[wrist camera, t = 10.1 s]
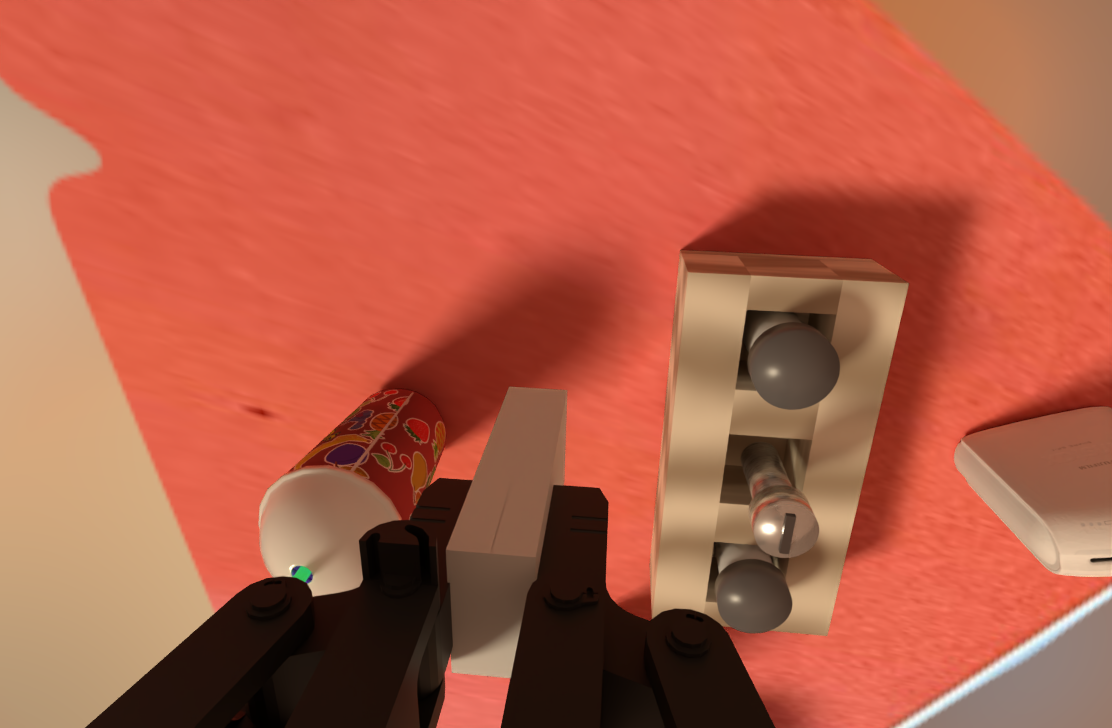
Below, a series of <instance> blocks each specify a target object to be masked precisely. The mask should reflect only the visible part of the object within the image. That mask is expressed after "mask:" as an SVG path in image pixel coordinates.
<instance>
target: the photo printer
mask: <svg viewBox="0 0 1112 728" xmlns="http://www.w3.org/2000/svg"><path fill="white" fill-rule="evenodd" d="M954 462H955V466H956V468H957V469H958V471H959V472H960V473H961V474H962V475H963V476H964V477H965V478H966V481H967V483H968V484H969V485H970V486H971V488H972V489H973V490H974V491H975V492H976V493H977V494H978V495H979V496H980V497H981V498H982V500H984V502H985V503H986V504H987V505H988V506H989V507H990V508H991V509H992V510H993V511H994V512H995V514H996V515H997V516H998V517H999V518H1000V519H1001V520H1002V521H1003V522H1004V523H1005V524H1006V525H1007V526H1008V528H1009V529H1010V530H1011V531H1012V532H1013V533H1014V534H1015V535H1016V536H1017V537H1018V538H1019V540H1020V541H1021V542H1022V543H1023V544H1024V545H1025V546H1026V547H1027V548H1028V549H1029V551H1030V552H1031V553H1032V554H1033V555H1034V556H1035V557H1036V558H1037V559H1038V560H1039V561H1040V562H1041V563H1042V565H1043V566H1044V567H1046V568H1047V569H1048V570H1049V571H1051V572H1053V573H1055V574H1060V575H1068V576H1081V577H1105V576H1112V408H1110V407H1105V406H1100V407H1088V408H1082V409H1077V410H1071V411H1066V412H1061V413H1056V414H1051V415H1047V416H1042V417H1038V418H1033V419H1029V420H1024V421H1020V422H1016V423H1011V424H1008V425H1003V426H999V427H995V428H991V429H987V430H983V431H980V432H976V433H973V434H970V435H967V436H965V437H963V438H962V439H961V442H960V443H958V445H957V447H956V449H955V453H954Z"/></svg>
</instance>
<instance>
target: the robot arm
mask: <svg viewBox="0 0 1112 728" xmlns="http://www.w3.org/2000/svg"><path fill="white" fill-rule="evenodd" d="M566 414H567V390H556V389H540V388H524V387H509V388H508V391H507V394H506V396H505V399H504V401H503V404H502V406H501V409H500V412H499V414H498V417H497V419H496V422H495V424H494V427H493V430H492V432H491V435H490V437H489V440H488V442H487V445H486V448H485V450H484V453H483V455H482V458H481V460H480V463H479V466H478V468H477V471H476V473H475V476H474V479H473V480H460V479H446V478H439V479H437V480H436V481H435V482H434V483H432V484H431V485H430V486H428V487H427V488H426V489H425V490H423V492H422V494H421V496H420V498H419V500H418V502H417V504H416V508H414V510H413V512H412V514H411V516H410V520H394V521H390V522H386V523H383V524H379V525H377V526H376V527H374V528H372V529H370V530H368V531H367V532H366V533H365V534H364V535H363V536H362V537H361V538H360V539H359V548H360V557H361V566H362V575H363V581H362V582H361V584H360V586H359V587H357V588H355V589H352V590H348V591H344V592H340V593H333V594H326V595H320V596H313V595H312V591H311V589H310V588H309V586H308V584H307V583H306V582H304V581H302V580H300V579H298V578H295V577H286V576H279V577H273V578H266V579H264V580H261V581H258V582H256V583H253V584H251V585H249V586H248V587H246V588H245V589H243V590H242V591H240V592H239V593H237V594H236V595H235V596H234V597H233V598H232V599H230V600H229V601H228V602H227V603H226V604H225V605H224V606H223V607H221V608H220V609H219V610H218V611H217V612H216V613H215V614H214V615H212V616H211V617H210V618H209V619H208V620H207V621H206V622H204V623H203V624H202V625H201V626H200V627H199V628H198V629H197V630H195V631H194V632H193V633H192V634H191V635H190V636H189V637H188V638H186V639H185V640H184V641H183V642H182V643H181V644H179V645H178V646H177V647H176V648H175V649H174V650H173V651H172V652H170V653H169V654H168V655H167V656H166V657H165V658H164V659H163V660H161V661H160V662H159V663H158V664H157V665H156V666H155V667H154V668H152V669H151V670H150V671H149V672H148V673H147V674H145V675H144V676H143V677H142V678H141V679H140V680H139V681H138V682H136V683H135V684H134V685H133V686H132V687H131V688H130V689H129V690H127V691H126V692H125V693H124V694H123V695H122V696H121V697H119V698H118V699H117V700H116V701H115V702H114V703H113V704H111V705H110V706H109V707H108V708H107V709H106V710H105V711H104V712H102V713H101V714H100V715H99V716H98V717H97V718H96V719H95V720H93V721H92V722H91V723H90V724H89V725H88V726H87V727H85V728H436V726H437V722H438V719H439V716H440V712H441V709H442V705H443V702H444V698H445V675H444V673H445V670H446V667H447V664H448V660H449V657H450V654H451V666H452V673H462V674H472V675H482V676H493V677H503V678H511V679H510V684H509V689H508V694H507V699H506V704H505V709H504V714H503V719H502V724H501V728H775V726H774V724H773V722H772V720H771V718H770V716H769V714H768V712H767V710H766V708H765V706H764V704H763V702H762V700H761V698H760V696H759V694H758V692H757V690H756V688H755V686H754V684H753V682H752V680H751V678H750V676H749V674H748V672H747V670H746V668H745V666H744V664H743V662H742V660H741V658H740V656H739V654H738V652H737V650H736V648H735V646H734V644H733V642H732V640H731V638H730V636H729V635H728V633H727V632H726V631H725V629H724V628H723V627H722V626H721V624H720V623H718V622H717V621H715V620H714V619H713V618H711V617H710V616H708V615H707V614H704V613H701V612H698V611H695V610H692V609H677V608H675V609H671V610H667V611H663V612H661V613H659V614H658V615H657V616H655V617H654V618H653V619H651V621H648V620H646V619H643V618H640V617H637V616H635V615H633V614H631V613H628V612H626V611H625V610H624V609H622V608H621V607H619V606H618V605H617V604H616V603H615V602H614V601H613V600H612V599H611V597H610V595H609V593H608V591H607V589H606V555H607V528H608V501H607V499H606V498H605V496H604V495H603V493H602V491H601V490H600V488H592V487H578V486H564V474H565V444H566Z"/></svg>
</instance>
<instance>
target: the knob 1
mask: <svg viewBox="0 0 1112 728" xmlns="http://www.w3.org/2000/svg"><path fill="white" fill-rule="evenodd" d="M742 340H743V342H744V344H745V346H746V348H747V350H748V352H749V354H748V361H747V366H748V372H749V375H750V377H751V380H752V382H753V384H754V386H755V389H756V390H757V392H758V394H759V395H760V396H761V397H762V398H763V399H764V400H765V401H766V402H768V403H769V404H771V405H773V406H775V407H778V408H782V409H788V410H797V409H803V408H807V407H810V406H812V405H815V404H817V403H818V402H820V401H821V400H823V399H824V398H825V397H826V396H827V395H828V394H829V393H830V392H831V391H832V390H833V388H834V387H835V385H836V383H837V380H838V378H839V374H840V361H839V357H838V354H837V352H836V350H835V348H834V347H833V346H832V344H831V343H830V342H829V341H828V340H827V338H826V337H825V336H824V335H823V334H822V333H821V332H820V331H819V330H817V329H816V328H814V327H813V326H810V325H808V324H805V323H802V322H801V321H800V320H799V318H798V317H797V316H796V314H795V313H794V312H780V311H761V310H747V311H746V317H745V324H744V331H743V338H742Z"/></svg>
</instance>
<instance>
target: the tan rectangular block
mask: <svg viewBox="0 0 1112 728" xmlns="http://www.w3.org/2000/svg"><path fill="white" fill-rule="evenodd" d="M908 286H909V283H908V282H906V281H905V280H903V279H902V278H900V277H899V276H897V275H895V274H894V273H892V272H891V271H889V270H888V269H886V268H885V267H883V266H882V265H880V264H879V263H877V262H876V261H874V260H872V259H860V258H839V257H818V256H796V255H775V254H754V253H733V252H712V251H691V250H680V257H679V267H678V278H677V288H676V298H675V308H674V319H673V329H672V339H671V349H670V360H669V370H668V380H667V390H666V400H665V411H664V421H663V431H662V441H661V452H660V462H659V472H658V482H657V493H656V503H655V513H654V523H653V534H652V544H651V554H650V564H649V565H650V586H651V607H652V619H653V618H654V617H655V616H657V615H658V614H659V613H661V612H663V611H667V610H671V609H675V608H677V609H692V610H695V611H698V612H701V613H704V614H707V615H708V616H710V617H711V618H713V619H714V620H715V621H717V622H718V623H720V624H721V626H726V627H731V626H729V625H728V624H727V623H726V622H725V621H724V620H723V619H722V617H721V616H720V614H719V611H718V606H717V600H716V595H715V582H716V579H717V577H718V575H719V569H718V564H717V559H716V554H715V549H714V542H725V543H737V544H749V545H758V544H757V543H756V540H755V537H754V534H753V530H752V527H751V523H750V520H749V516H748V508H749V504H750V502H751V500H752V496H751V493H750V490H749V487H748V483H747V480H746V477H745V474H744V471H743V467H742V464H741V459H740V458H741V453H742V451H743V450H744V449H745V448H746V447H747V446H748V445H750V444H752V443H755V442H766V443H769V444H771V445H772V446H774V447H775V449H776V450H777V452H778V455H779V457H780V459H781V462H782V464H783V466H784V469H785V471H786V473H787V476H788V478H789V480H790V483H791V485H792V487H794V488H796V489H798V490H799V491H801V492H802V493H803V494H804V495H805V496H806V498H807V499H808V502H809V504H810V506H811V508H812V510H813V513H814V515H815V517H816V519H817V522H818V524H819V536H818V539H817V541H816V543H815V544H814V545H813V547H812V548H811V549H809V550H808V551H807V552H805V553H803V554H801V555H799V556H796V557H791V558H780V557H775V556H772V555H770V557H771V561H772V564H773V565H774V566H776V567H777V568H778V569H779V570H780V571H781V572H782V573H783V575H784V577H785V579H786V582H787V585H788V588H789V591H790V594H791V597H792V610H791V613H790V615H789V617H788V618H787V620H786V621H785V622H784V623H783V624H781V625H780V626H778V627H777V628H775V629H773V630H770V631H779V632H790V633H801V634H812V635H822V636H827V635H828V630H829V626H830V622H831V618H832V613H833V609H834V605H835V600H836V596H837V592H838V587H839V583H840V579H841V574H842V570H843V566H844V562H845V557H846V553H847V549H848V544H849V540H850V536H851V531H852V527H853V523H854V518H855V514H856V510H857V506H858V501H859V497H860V493H861V488H862V484H863V480H864V475H865V471H866V467H867V462H868V458H869V454H870V450H871V445H872V441H873V437H874V432H875V428H876V424H877V419H878V415H879V411H880V406H881V402H882V398H883V394H884V389H885V385H886V381H887V376H888V372H889V368H890V363H891V359H892V355H893V350H894V346H895V342H896V338H897V333H898V329H899V325H900V320H901V316H902V312H903V307H904V303H905V299H906V294H907V290H908ZM747 310H761V311H780V312H794V313H795V314H796V316H797V317H798V318H799V320H800V321H801V322H802V323H805V324H808V325H810V326H813V327H814V328H816V329H817V330H819V331H820V332H821V333H822V334H823V335H824V336H825V337H826V338H827V340H828V341H829V342H830V343H831V344H832V346H833V347H834V348H835V350H836V352H837V354H838V357H839V361H840V374H839V378H838V380H837V383H836V385H835V387H834V388H833V390H832V391H831V392H830V393H829V394H828V395H827V396H826V397H825V398H824V399H823V400H821V401H820V402H818V403H817V404H815V405H812V406H810V407H807V408H803V409H797V410H788V409H782V408H778V407H775V406H773V405H771V404H769V403H768V402H766V401H765V400H764V399H763V398H762V397H761V396H760V395H759V394H758V392H757V390H756V389H755V386H754V384H753V382H752V380H751V377H750V375H749V372H748V366H747V361H748V354H749V352H748V350H747V348H746V346H745V344H744V342H743V340H742V338H743V331H744V324H745V317H746V311H747Z"/></svg>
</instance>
